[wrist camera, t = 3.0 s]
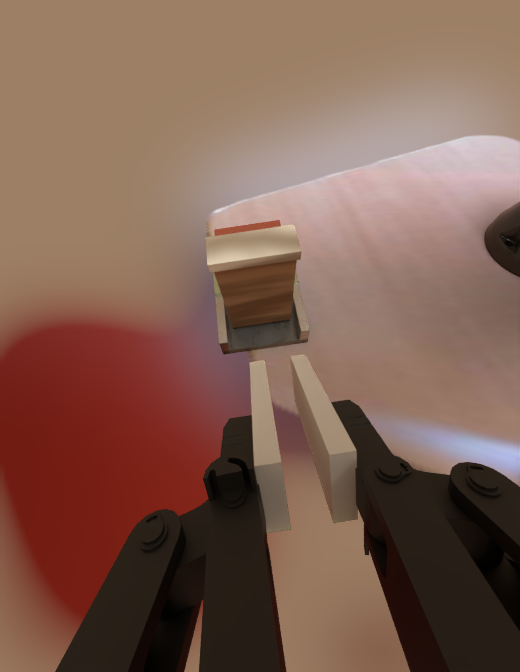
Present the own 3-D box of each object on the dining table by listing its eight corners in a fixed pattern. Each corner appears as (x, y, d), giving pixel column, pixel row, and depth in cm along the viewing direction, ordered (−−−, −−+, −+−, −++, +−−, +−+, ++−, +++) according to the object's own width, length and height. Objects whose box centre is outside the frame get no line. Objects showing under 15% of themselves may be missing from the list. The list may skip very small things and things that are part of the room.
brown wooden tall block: (293, 321, 40) (301, 251, 27) (231, 330, 40) (207, 265, 27) (288, 300, 42) (294, 224, 28) (229, 309, 42) (205, 237, 28)
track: (307, 341, 40) (313, 319, 34) (223, 354, 40) (213, 334, 34) (285, 248, 48) (286, 216, 42) (215, 259, 48) (206, 228, 42)
